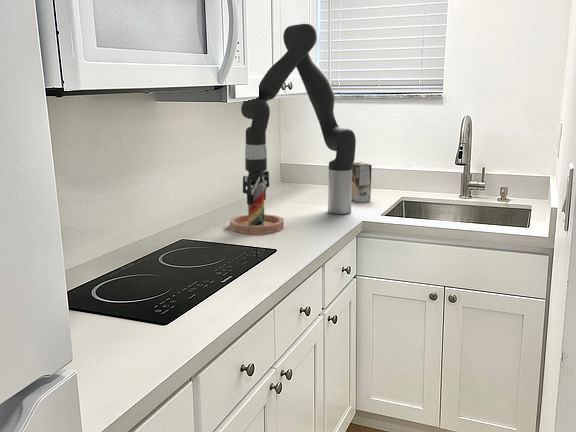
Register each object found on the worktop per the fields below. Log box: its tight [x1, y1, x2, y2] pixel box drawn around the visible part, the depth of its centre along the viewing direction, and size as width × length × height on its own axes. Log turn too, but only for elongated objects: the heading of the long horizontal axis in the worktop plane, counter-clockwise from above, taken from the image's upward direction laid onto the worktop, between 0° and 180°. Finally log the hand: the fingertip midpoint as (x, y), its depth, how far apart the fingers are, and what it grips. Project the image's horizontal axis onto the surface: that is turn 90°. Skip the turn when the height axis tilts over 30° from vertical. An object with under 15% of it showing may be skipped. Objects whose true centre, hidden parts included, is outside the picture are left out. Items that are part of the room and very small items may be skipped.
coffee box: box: [351, 162, 373, 203], centre depth 250 cm, size 9×6×16 cm
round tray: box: [229, 213, 285, 235], centre depth 206 cm, size 19×19×3 cm
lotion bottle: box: [247, 172, 265, 226], centre depth 204 cm, size 6×6×20 cm
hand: (256, 202), depth 204 cm, fingers open, 8 cm apart
